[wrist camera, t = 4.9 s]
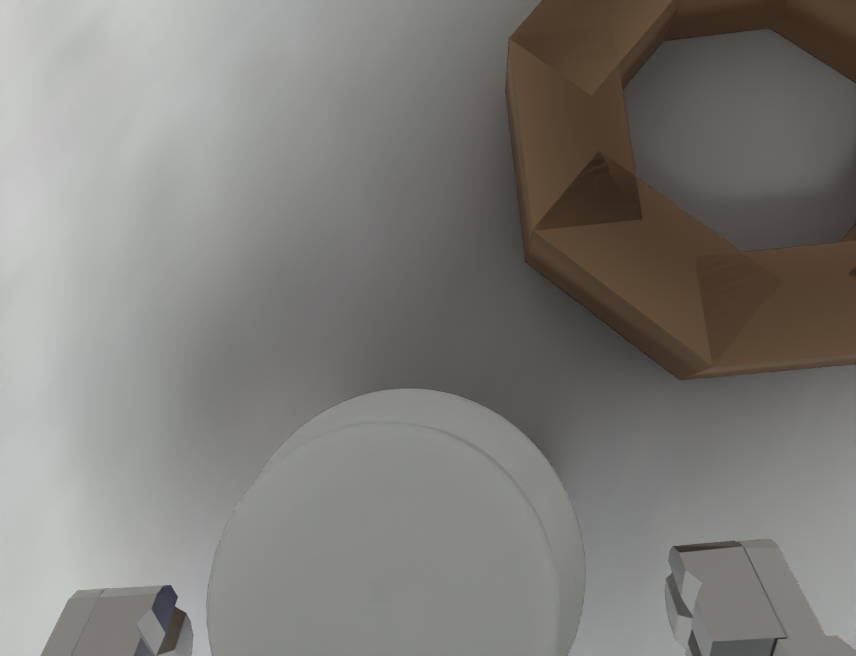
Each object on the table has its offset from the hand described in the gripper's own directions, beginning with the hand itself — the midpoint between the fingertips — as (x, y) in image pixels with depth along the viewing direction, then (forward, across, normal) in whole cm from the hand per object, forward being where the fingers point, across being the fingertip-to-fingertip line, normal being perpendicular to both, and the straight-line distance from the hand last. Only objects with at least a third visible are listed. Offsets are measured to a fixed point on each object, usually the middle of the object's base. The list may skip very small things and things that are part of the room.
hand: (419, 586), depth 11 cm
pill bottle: (+5, 0, +4) cm, 6 cm away
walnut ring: (+11, -9, -3) cm, 14 cm away
